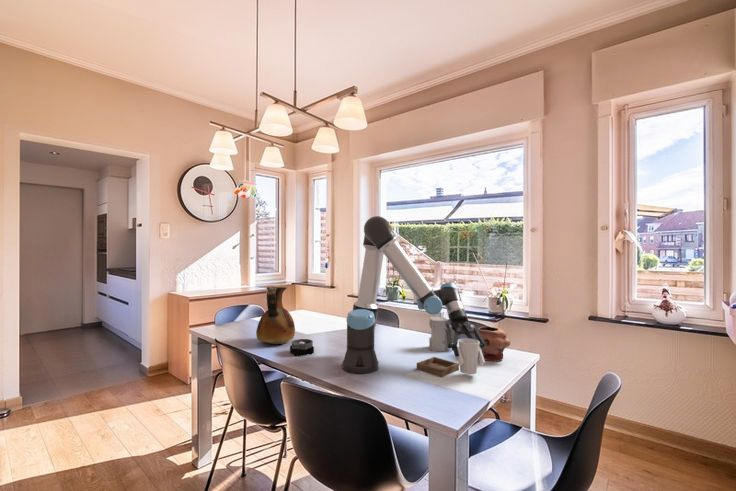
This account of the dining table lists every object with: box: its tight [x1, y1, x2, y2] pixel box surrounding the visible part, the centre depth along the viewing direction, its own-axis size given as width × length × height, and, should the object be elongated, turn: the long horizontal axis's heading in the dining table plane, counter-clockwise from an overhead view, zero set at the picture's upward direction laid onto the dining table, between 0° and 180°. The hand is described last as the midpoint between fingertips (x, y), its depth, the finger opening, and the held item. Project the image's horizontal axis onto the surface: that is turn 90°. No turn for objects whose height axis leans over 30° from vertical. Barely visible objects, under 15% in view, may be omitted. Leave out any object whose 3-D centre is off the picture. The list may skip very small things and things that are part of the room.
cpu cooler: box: [289, 338, 315, 357], centre depth 167 cm, size 10×6×10 cm
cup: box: [458, 337, 480, 375], centre depth 137 cm, size 8×8×12 cm
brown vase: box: [255, 285, 296, 345], centre depth 184 cm, size 20×20×30 cm
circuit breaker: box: [428, 316, 461, 352], centre depth 175 cm, size 8×14×15 cm, turn 89°
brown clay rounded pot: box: [466, 326, 511, 362], centre depth 160 cm, size 20×12×14 cm, turn 56°
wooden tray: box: [416, 356, 460, 378], centre depth 144 cm, size 12×12×3 cm
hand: (472, 363), depth 134 cm, fingers closed on cup, 8 cm apart
